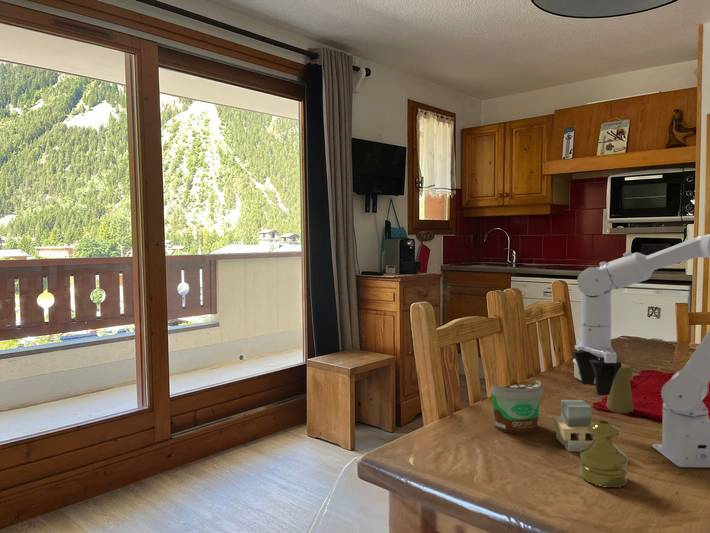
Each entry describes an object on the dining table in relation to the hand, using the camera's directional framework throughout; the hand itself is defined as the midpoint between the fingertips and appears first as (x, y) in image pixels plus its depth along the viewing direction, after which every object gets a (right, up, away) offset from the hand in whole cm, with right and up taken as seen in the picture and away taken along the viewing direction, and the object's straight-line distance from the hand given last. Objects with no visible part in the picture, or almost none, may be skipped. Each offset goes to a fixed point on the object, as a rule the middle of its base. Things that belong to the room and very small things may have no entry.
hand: (595, 389), depth 108 cm
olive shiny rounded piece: (-8, -11, -19) cm, 23 cm away
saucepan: (+17, -8, +39) cm, 43 cm away
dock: (-6, -10, -4) cm, 12 cm away
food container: (-14, -10, +4) cm, 18 cm away
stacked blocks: (-6, -8, -4) cm, 11 cm away
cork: (+14, -9, +17) cm, 24 cm away
